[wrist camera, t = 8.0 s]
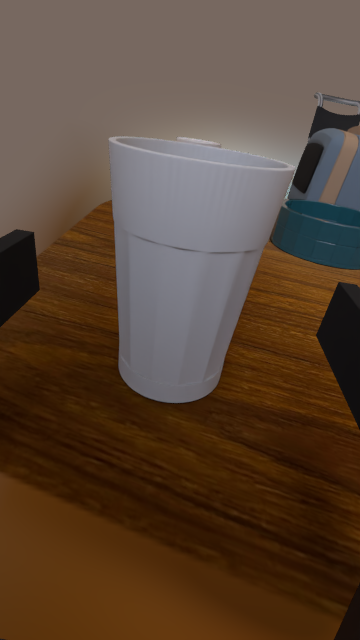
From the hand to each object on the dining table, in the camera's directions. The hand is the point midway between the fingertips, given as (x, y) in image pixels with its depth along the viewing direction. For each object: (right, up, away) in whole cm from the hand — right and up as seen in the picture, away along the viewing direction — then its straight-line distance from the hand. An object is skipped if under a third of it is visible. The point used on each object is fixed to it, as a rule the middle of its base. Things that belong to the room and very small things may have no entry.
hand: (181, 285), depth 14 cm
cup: (-1, -4, +6) cm, 8 cm away
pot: (+20, +9, +32) cm, 39 cm away
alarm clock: (+30, +19, +51) cm, 62 cm away
